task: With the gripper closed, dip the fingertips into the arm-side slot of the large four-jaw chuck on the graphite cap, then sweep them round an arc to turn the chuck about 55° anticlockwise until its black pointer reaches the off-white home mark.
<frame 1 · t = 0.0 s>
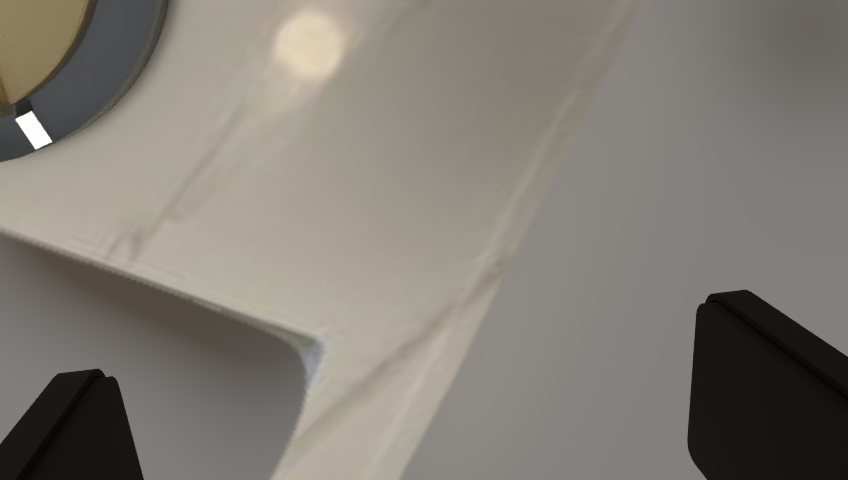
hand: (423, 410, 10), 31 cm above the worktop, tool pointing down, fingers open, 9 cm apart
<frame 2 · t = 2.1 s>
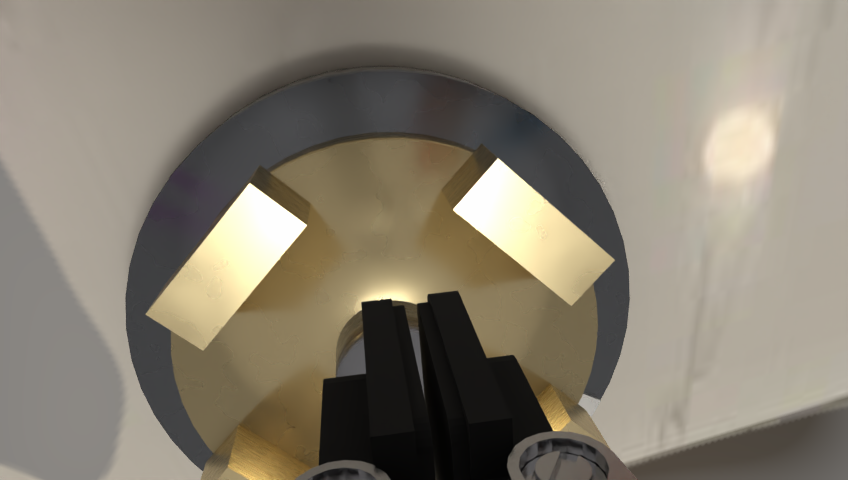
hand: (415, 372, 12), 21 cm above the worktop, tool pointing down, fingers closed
cap flange: (385, 302, 34), on the worktop
four-jaw chuck: (393, 359, 29), point 6 cm above the worktop, hinge at 0.0°
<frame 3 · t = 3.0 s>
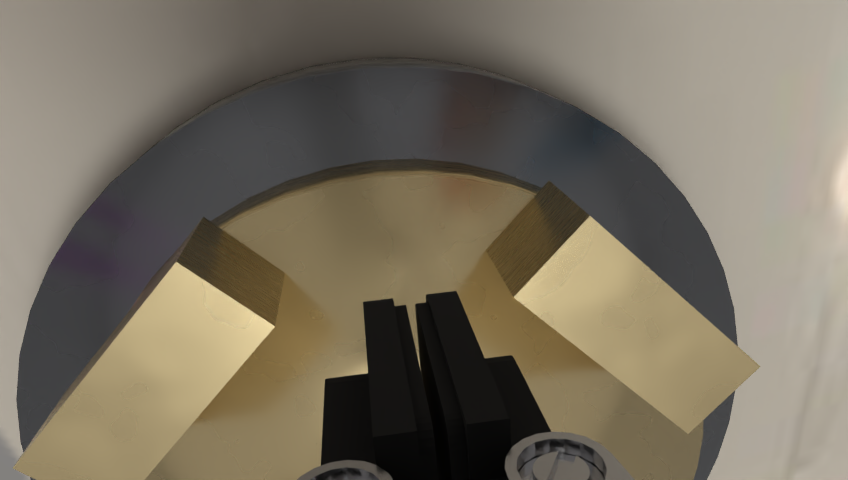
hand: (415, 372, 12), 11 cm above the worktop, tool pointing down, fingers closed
cap flange: (394, 382, 25), on the worktop
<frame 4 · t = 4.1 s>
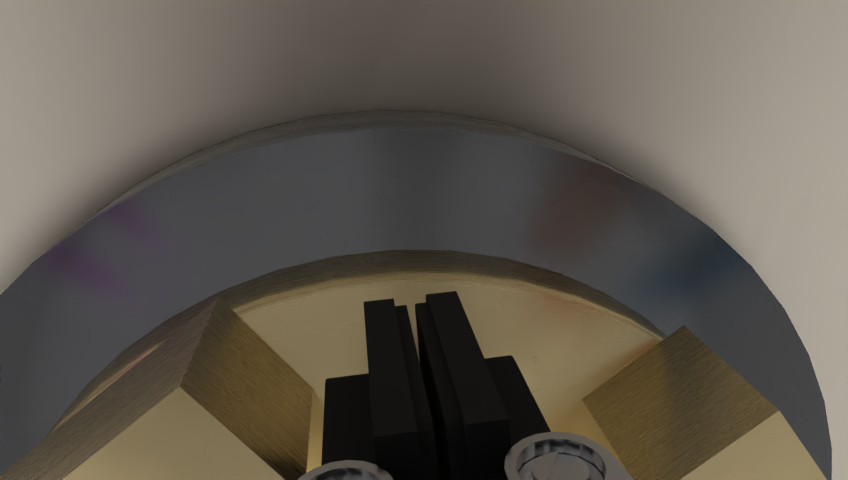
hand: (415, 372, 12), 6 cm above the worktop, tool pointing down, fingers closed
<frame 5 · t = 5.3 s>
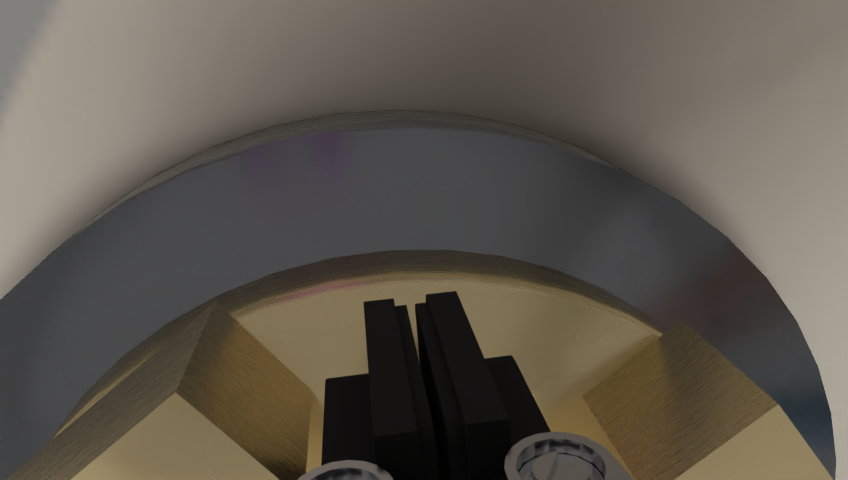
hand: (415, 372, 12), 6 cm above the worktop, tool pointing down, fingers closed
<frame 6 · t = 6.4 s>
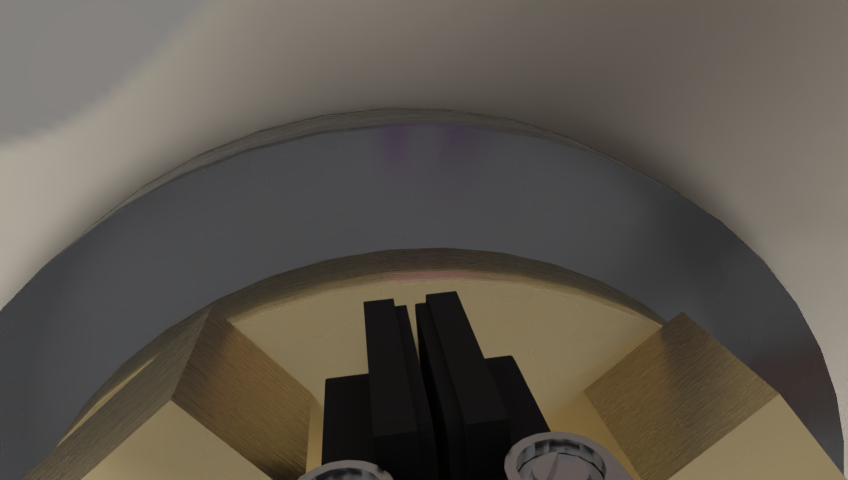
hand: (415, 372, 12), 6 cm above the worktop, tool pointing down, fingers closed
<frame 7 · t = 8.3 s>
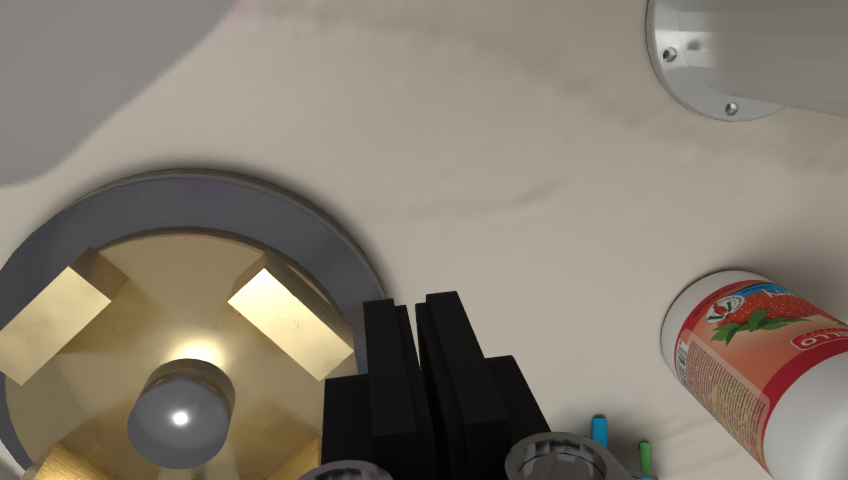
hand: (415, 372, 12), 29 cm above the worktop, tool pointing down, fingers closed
cap flange: (206, 352, 42), on the worktop
fruit juice: (717, 326, 47), on the worktop
four-jaw chuck: (187, 404, 36), point 6 cm above the worktop, hinge at 62.2°
gear: (585, 455, 49), on the worktop
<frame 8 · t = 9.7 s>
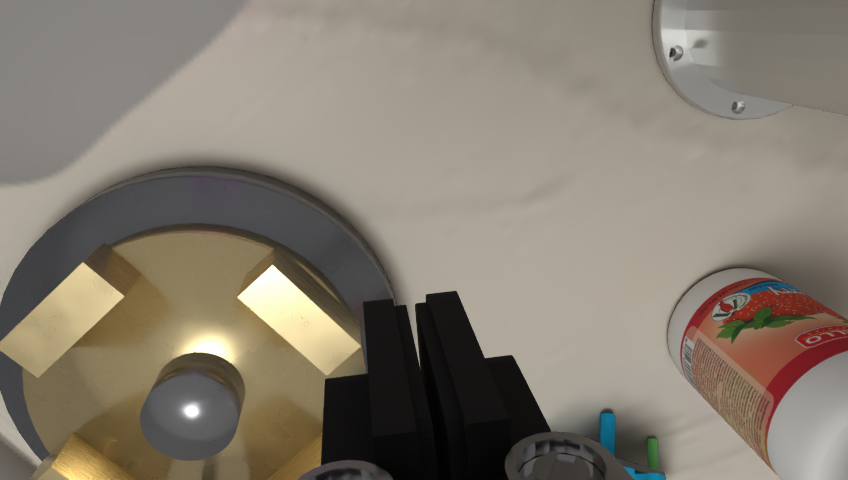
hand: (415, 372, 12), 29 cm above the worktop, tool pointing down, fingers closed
cap flange: (217, 347, 42), on the worktop
fruit juice: (724, 324, 47), on the worktop
four-jaw chuck: (198, 397, 37), point 6 cm above the worktop, hinge at 62.2°
gear: (592, 450, 49), on the worktop
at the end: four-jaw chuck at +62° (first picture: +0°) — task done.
